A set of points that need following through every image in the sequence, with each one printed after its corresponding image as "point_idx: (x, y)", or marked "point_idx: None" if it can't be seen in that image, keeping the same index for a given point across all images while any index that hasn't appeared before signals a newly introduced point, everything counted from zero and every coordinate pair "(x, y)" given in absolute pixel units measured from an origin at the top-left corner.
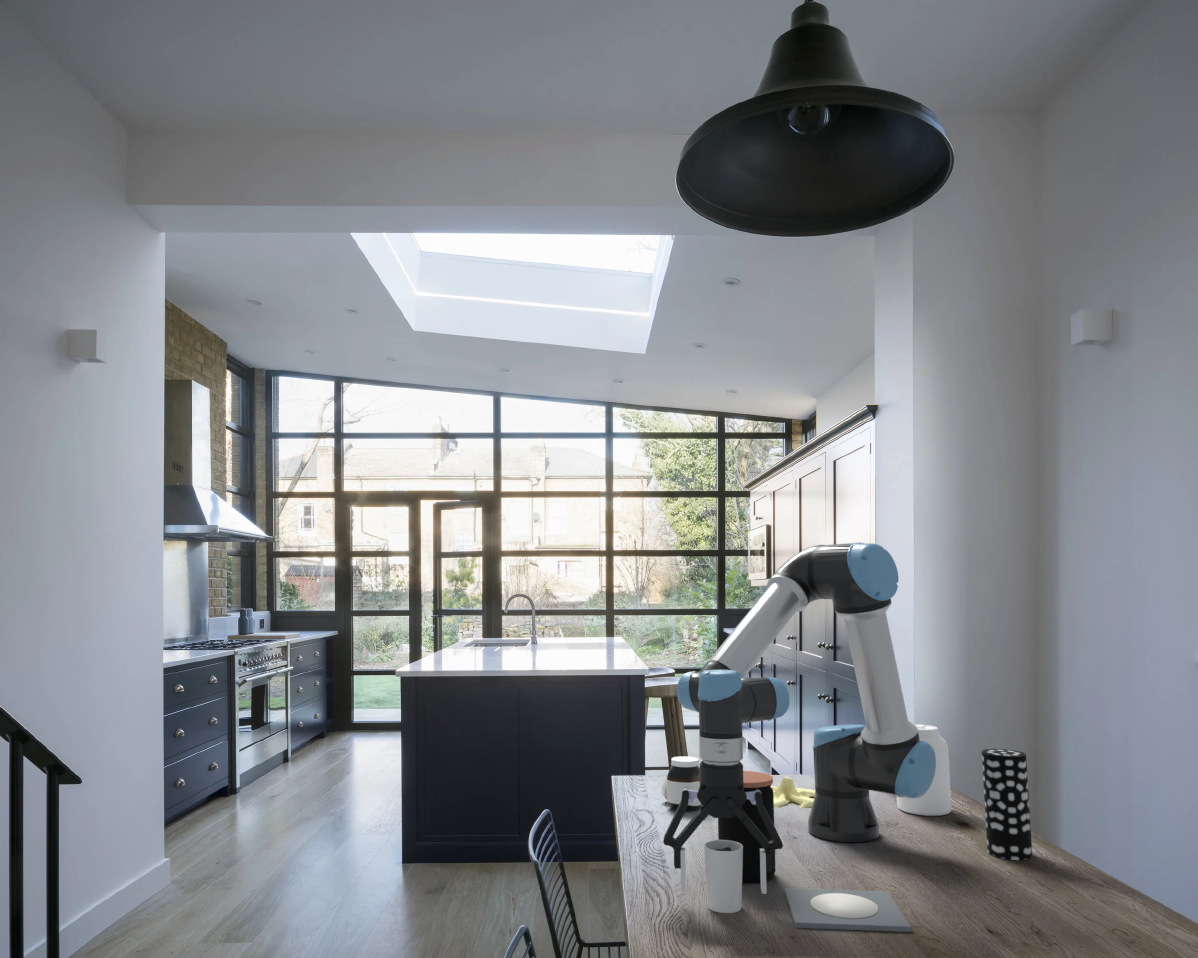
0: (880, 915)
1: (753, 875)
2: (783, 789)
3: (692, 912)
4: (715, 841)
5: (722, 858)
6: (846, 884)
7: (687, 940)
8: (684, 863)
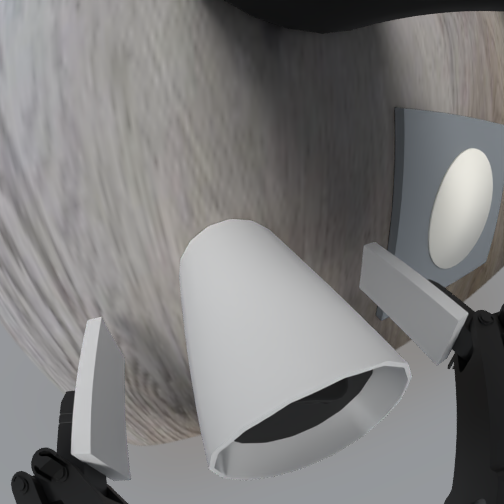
0: (481, 235)
1: (332, 31)
2: None
3: (153, 334)
4: (271, 405)
5: (294, 443)
6: (476, 62)
7: (192, 422)
8: (124, 434)
